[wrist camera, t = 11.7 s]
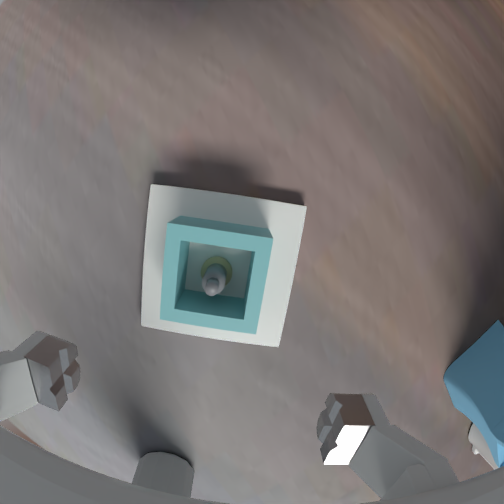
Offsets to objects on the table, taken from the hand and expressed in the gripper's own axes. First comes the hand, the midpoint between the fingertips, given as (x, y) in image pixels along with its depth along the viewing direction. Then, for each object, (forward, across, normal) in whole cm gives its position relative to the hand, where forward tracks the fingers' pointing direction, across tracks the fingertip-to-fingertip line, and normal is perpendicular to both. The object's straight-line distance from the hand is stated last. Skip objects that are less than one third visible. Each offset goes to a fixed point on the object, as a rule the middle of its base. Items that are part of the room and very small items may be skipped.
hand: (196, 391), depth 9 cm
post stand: (+17, +1, +1) cm, 17 cm away
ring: (+16, +1, +1) cm, 16 cm away
